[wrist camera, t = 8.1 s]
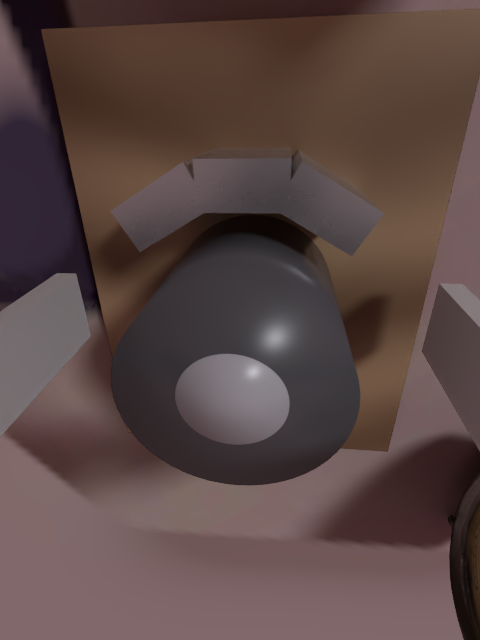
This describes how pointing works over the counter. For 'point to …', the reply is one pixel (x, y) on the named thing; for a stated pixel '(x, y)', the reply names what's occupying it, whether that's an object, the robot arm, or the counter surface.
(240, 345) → the dark grey cylinder
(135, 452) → the counter surface
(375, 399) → the board
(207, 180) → the grey curved walls
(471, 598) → the alarm clock
